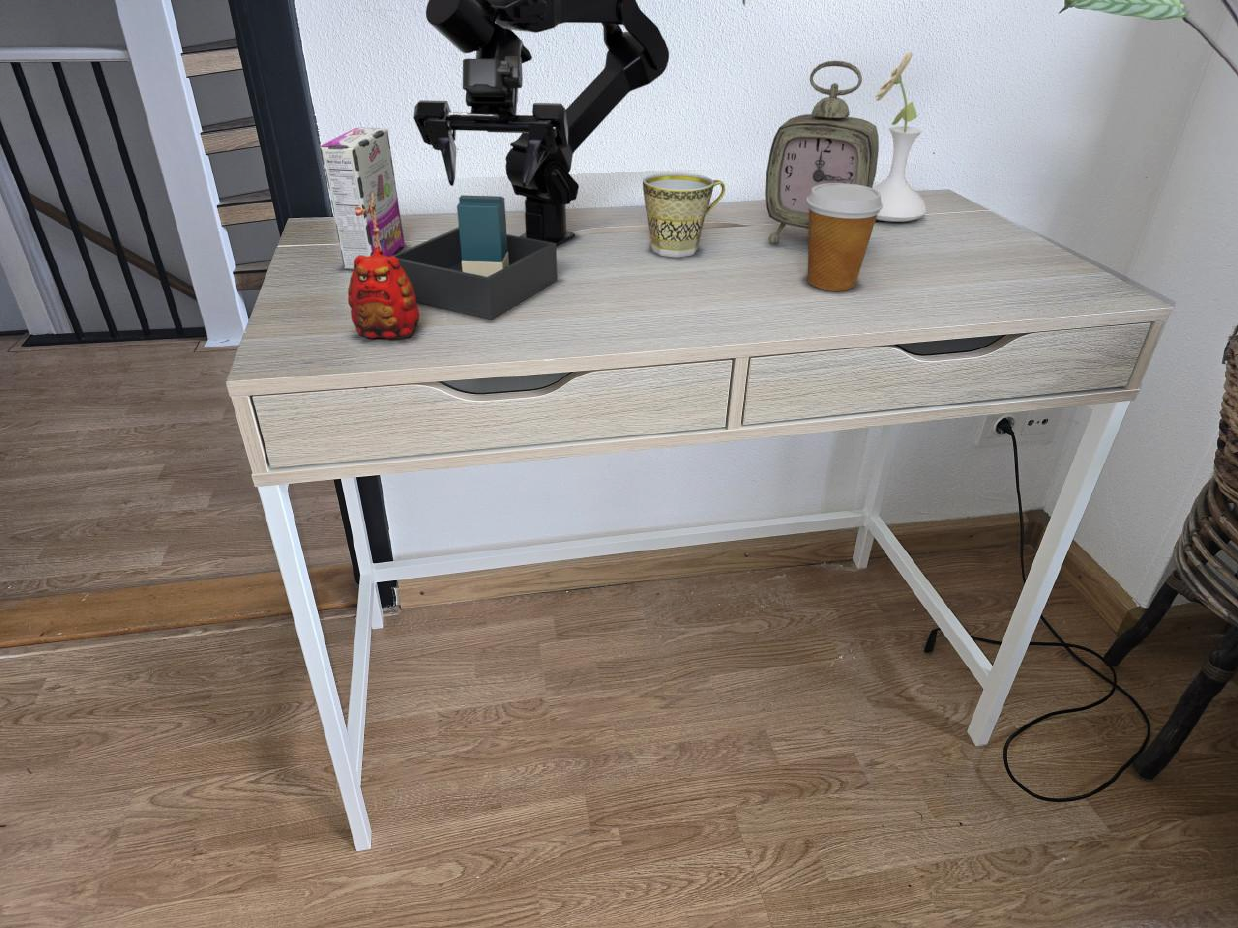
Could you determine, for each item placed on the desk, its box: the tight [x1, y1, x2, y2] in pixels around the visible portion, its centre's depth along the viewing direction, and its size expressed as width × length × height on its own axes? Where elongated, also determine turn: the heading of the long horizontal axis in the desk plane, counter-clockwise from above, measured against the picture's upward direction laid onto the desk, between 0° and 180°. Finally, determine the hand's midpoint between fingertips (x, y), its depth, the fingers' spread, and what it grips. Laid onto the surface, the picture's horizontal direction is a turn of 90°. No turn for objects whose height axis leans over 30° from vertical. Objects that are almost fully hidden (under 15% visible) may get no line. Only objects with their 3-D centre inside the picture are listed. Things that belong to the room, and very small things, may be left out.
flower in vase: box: [872, 51, 928, 223], centre depth 128 cm, size 13×11×25 cm
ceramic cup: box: [642, 171, 726, 259], centre depth 117 cm, size 13×10×10 cm
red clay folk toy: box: [347, 193, 420, 341], centre depth 90 cm, size 8×7×15 cm
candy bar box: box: [319, 126, 406, 271], centre depth 111 cm, size 11×5×16 cm, turn 171°
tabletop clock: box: [764, 60, 880, 245], centre depth 116 cm, size 14×9×25 cm, turn 68°
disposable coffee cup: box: [806, 183, 883, 292], centre depth 106 cm, size 10×10×12 cm
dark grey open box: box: [391, 226, 558, 321], centre depth 104 cm, size 15×15×5 cm
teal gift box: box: [456, 194, 509, 277], centre depth 101 cm, size 4×5×12 cm
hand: (487, 185), depth 101 cm, fingers open, 9 cm apart
